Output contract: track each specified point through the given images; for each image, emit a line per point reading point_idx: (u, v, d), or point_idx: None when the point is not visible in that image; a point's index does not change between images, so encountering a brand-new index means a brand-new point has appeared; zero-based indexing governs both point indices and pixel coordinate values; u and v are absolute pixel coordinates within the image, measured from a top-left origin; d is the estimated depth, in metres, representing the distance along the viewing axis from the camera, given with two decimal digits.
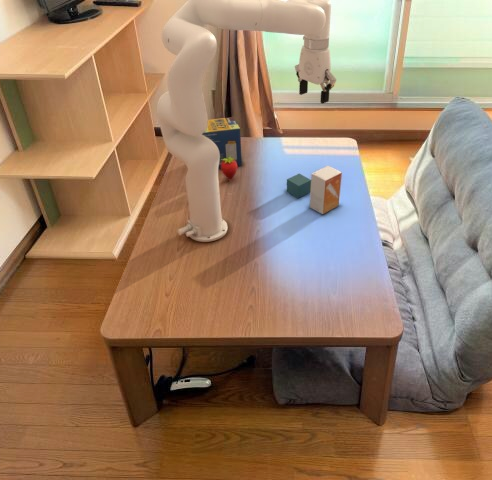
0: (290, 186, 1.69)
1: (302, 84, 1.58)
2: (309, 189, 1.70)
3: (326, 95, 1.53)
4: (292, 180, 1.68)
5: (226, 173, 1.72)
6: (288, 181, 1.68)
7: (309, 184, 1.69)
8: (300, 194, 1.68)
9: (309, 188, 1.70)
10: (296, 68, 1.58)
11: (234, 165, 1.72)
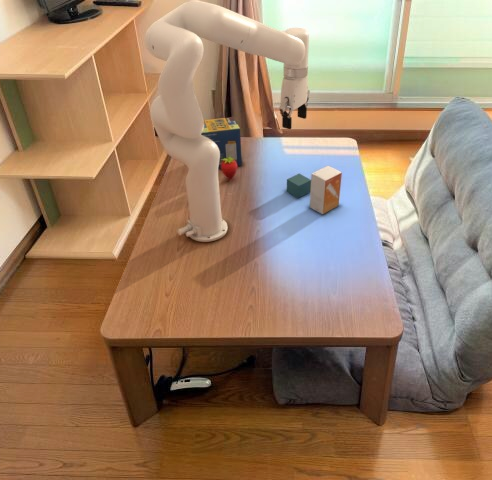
0: (290, 186, 1.69)
1: (299, 107, 1.64)
2: (309, 189, 1.70)
3: (284, 121, 1.57)
4: (292, 180, 1.68)
5: (226, 173, 1.72)
6: (288, 181, 1.68)
7: (309, 184, 1.69)
8: (300, 194, 1.68)
9: (309, 188, 1.70)
10: None
11: (234, 165, 1.72)
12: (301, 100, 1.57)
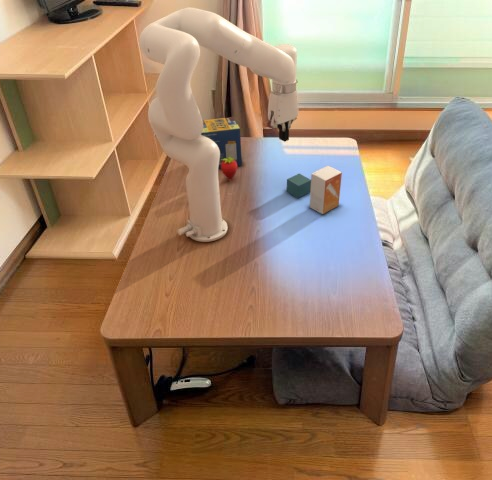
0: (290, 186, 1.69)
1: None
2: (309, 189, 1.70)
3: (279, 133, 1.64)
4: (292, 180, 1.68)
5: (226, 173, 1.72)
6: (288, 181, 1.68)
7: (309, 184, 1.69)
8: (300, 194, 1.68)
9: (309, 188, 1.70)
10: None
11: (234, 165, 1.72)
12: (289, 115, 1.59)
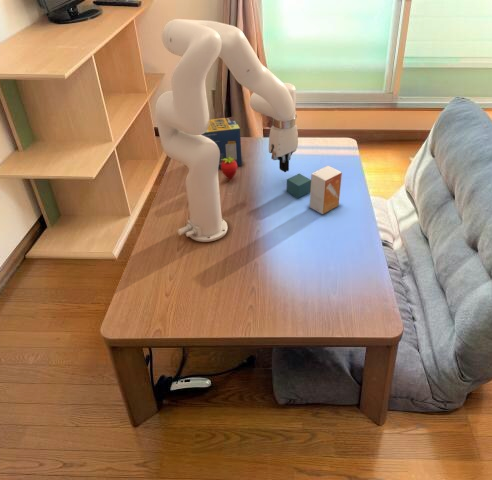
0: (290, 186, 1.69)
1: None
2: (309, 189, 1.70)
3: (280, 164, 1.71)
4: (292, 180, 1.68)
5: (226, 173, 1.72)
6: (288, 181, 1.68)
7: (309, 184, 1.69)
8: (300, 194, 1.68)
9: (309, 188, 1.70)
10: None
11: (234, 165, 1.72)
12: (288, 148, 1.66)
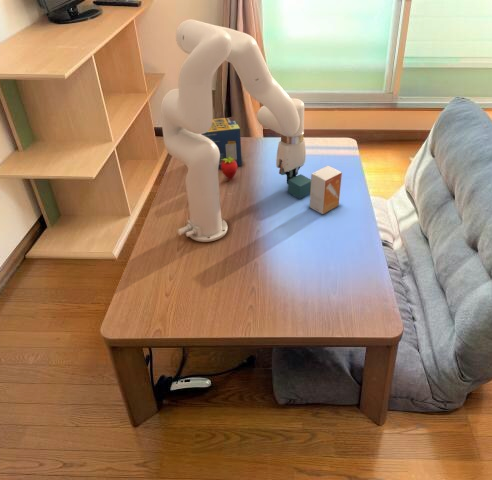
0: (291, 187, 1.69)
1: None
2: None
3: (287, 179, 1.71)
4: (294, 181, 1.67)
5: (226, 173, 1.72)
6: (289, 182, 1.68)
7: None
8: (302, 194, 1.67)
9: None
10: None
11: (234, 165, 1.72)
12: (296, 162, 1.66)
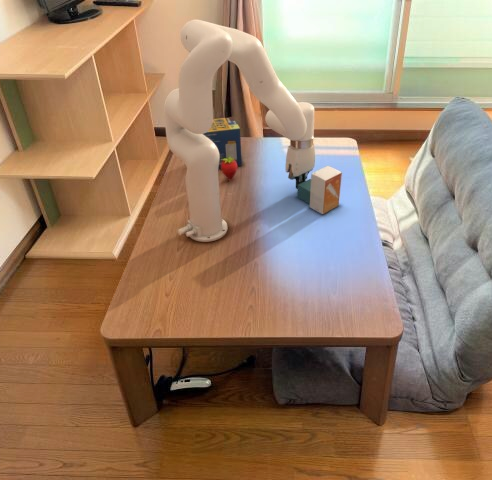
0: (300, 192, 1.66)
1: None
2: None
3: (296, 183, 1.68)
4: (303, 186, 1.65)
5: (226, 173, 1.72)
6: (299, 187, 1.66)
7: None
8: None
9: None
10: None
11: (234, 165, 1.72)
12: (306, 167, 1.63)
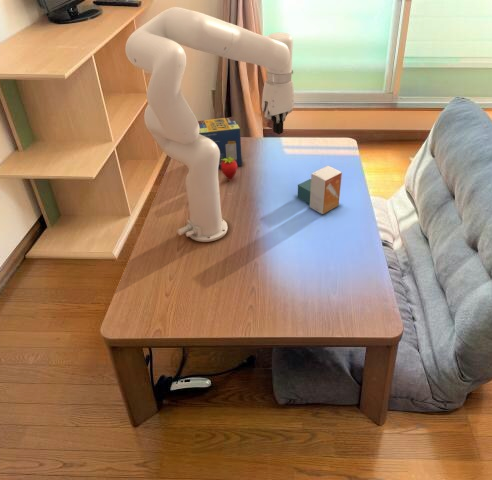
0: (301, 192, 1.66)
1: None
2: None
3: (274, 125, 1.59)
4: (303, 186, 1.65)
5: (226, 173, 1.72)
6: (299, 187, 1.65)
7: None
8: None
9: None
10: None
11: (234, 165, 1.72)
12: (283, 106, 1.54)
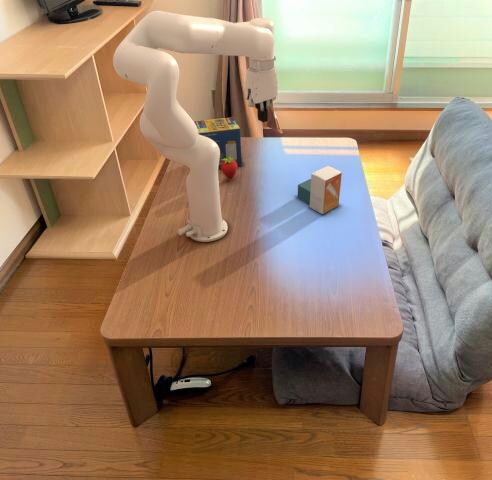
0: (301, 192, 1.66)
1: None
2: None
3: (258, 113, 1.56)
4: (303, 186, 1.65)
5: (226, 173, 1.72)
6: (299, 187, 1.65)
7: None
8: None
9: None
10: None
11: (234, 165, 1.72)
12: (267, 93, 1.51)
